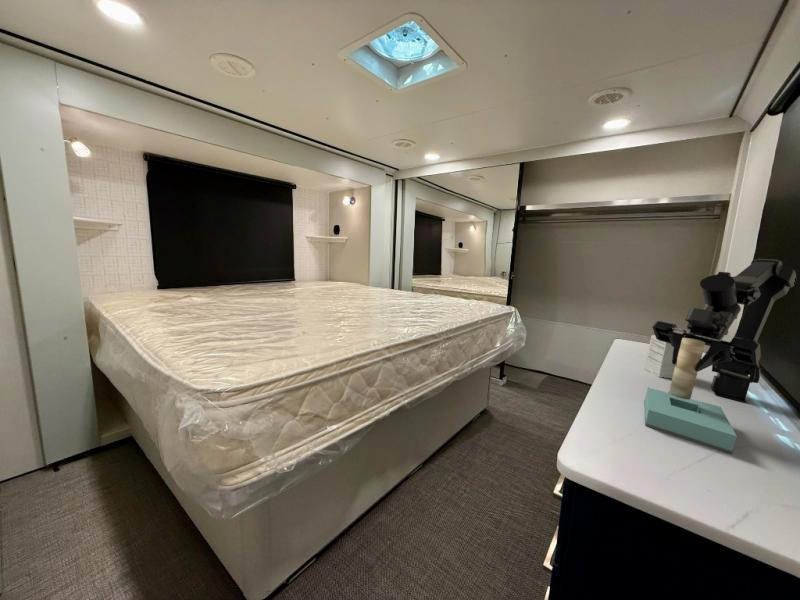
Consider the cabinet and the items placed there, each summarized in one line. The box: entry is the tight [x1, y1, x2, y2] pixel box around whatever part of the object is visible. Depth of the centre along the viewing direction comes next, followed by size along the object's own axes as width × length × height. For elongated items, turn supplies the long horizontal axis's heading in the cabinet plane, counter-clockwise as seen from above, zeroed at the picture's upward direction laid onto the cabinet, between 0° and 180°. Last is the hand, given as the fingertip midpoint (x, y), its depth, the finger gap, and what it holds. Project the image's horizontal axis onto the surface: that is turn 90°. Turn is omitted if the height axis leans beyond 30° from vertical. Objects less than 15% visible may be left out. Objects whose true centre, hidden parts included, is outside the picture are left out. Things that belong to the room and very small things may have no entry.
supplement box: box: [643, 334, 676, 379], centre depth 104 cm, size 7×7×13 cm
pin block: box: [643, 387, 738, 454], centre depth 73 cm, size 14×16×4 cm
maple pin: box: [668, 338, 706, 399], centre depth 74 cm, size 4×4×14 cm
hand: (684, 366), depth 73 cm, fingers closed on maple pin, 4 cm apart
